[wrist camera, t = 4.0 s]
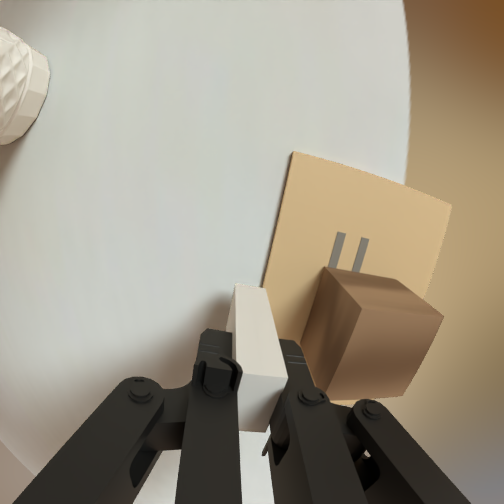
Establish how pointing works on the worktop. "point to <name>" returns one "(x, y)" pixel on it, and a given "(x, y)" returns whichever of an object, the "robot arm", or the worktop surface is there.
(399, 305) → the walnut block
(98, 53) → the worktop surface
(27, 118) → the white cup
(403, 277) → the envelope
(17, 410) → the worktop surface
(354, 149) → the worktop surface
